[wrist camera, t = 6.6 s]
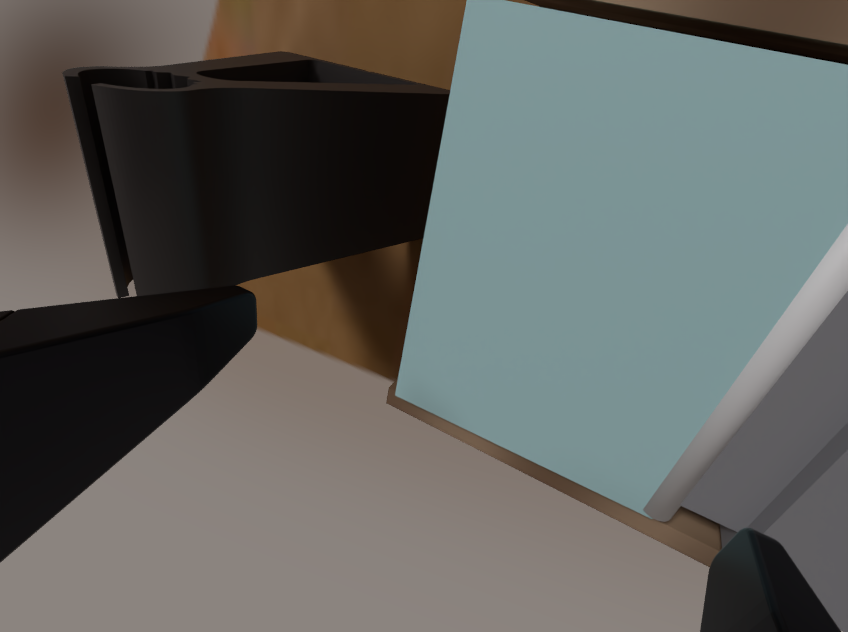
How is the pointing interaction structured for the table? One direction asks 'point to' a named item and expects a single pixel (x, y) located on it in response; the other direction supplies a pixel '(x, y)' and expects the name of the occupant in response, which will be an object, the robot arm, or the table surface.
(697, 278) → the trapdoor
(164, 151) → the phone stand
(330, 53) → the table surface
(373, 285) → the table surface
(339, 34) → the table surface
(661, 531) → the trapdoor frame
